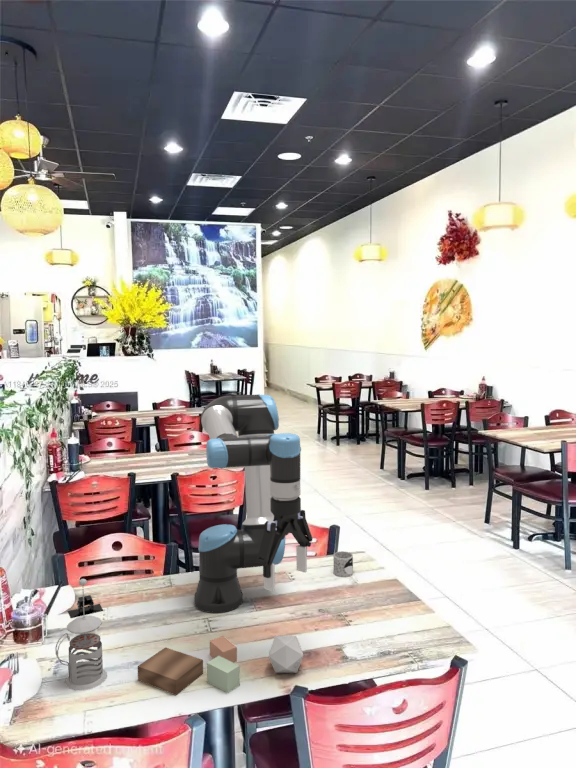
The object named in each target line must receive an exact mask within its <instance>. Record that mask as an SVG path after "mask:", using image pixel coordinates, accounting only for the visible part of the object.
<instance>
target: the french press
mask: <svg viewBox="0 0 576 768" xmlns="http://www.w3.org/2000/svg"><path fill="white" fill-rule="evenodd" d="M78 585H79V586H82V587H84V586H85V585H88V581H87V579H85V578H80V580H78ZM84 594H85V593H84V590H82V597H83V612H84V607H85V606H84V596H85V595H84ZM102 620H103V619H101V618H99V617H97V616H95V615H83V616H79V617H75V618H73V620H71V621H70V622H69V623H68V624H66V630H67V631H68V632H69V633H72V634H75V636H74V637H72V638H71V637H70V636H69V633H68V632H65V633H64V634H62V635H61V636H60V637H59V638H58V640H57V642H56V644H55V649H54V650H55V651H54V652H55V655H56V658H57V660H58V662H59V664H61V665H63V666H67V670H68V676H67V677H66V679H65V686H66V687H67V688H68V689H70V690H73V691H86V690H91V689H92V690H93V689H94V688H96V687H98V686H101V685H102V684H103V683H104V682H105V681H106V679H107V678H108V672H107V671H106V670H105V669H104V666H103V663H104V662H103V660H104V659H103V644H102V643H103V642H102V640H101V635H99V634H98V633H93V632H94V631H96V630H98V629H99V628H100V627H101V626H102V624H103V622H102ZM76 634H77V635H76ZM65 635H66V636H65ZM64 636H65V637H64ZM63 637H64V638H63ZM62 638H63V639H62ZM70 638H71V639H70ZM61 639H62V640H61ZM66 639H67V640H68V641H69V647H68V661H65V660H62V659H60V657H59V650H60V646H61V644H62V643H63V642H64V641H65V640H66ZM60 640H61V641H60ZM59 642H60V643H59ZM92 647H93V648H97V649H92ZM80 650H82V651H80ZM85 651H88V652H85ZM89 652H91V653H89ZM82 660H85V661H82ZM65 663H66V664H65Z"/></svg>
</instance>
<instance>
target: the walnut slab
mask: <svg viewBox="0 0 576 768" xmlns="http://www.w3.org/2000/svg"><path fill="white" fill-rule="evenodd" d="M203 674H204V660H203V658H202V659H201V658H199V657H197V656H194V655H193V656H192V655H190V654H186V653H184V652H181V651H177V650H175V649H172V648H169V647H166V646H165V647H163V648H162V649H161V650H159V651H158V652H157V653H155V654H153V655H152V656H150V657H149V658H148V659H146V660H144V661H143V662H141V663H140V664H139V665H137V681H138V682H140V683H143V684H146V685H148V686H152V687H153V688H157V689H159V690H161V691H165V692H167V693H170V694H173V695H175V696H178V694H180V693H181V692H183V691H184V690H185V689H186V688H187V687H189V686H190V685H191V684H192V683H194V682H195V681H196V680H198V678H200V677H201V676H202V675H203Z"/></svg>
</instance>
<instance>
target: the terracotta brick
mask: <svg viewBox="0 0 576 768" xmlns="http://www.w3.org/2000/svg"><path fill="white" fill-rule="evenodd" d="M209 655H210V657H212V658H213V659H214V658H216V657H217V656H220V657H223V658H225V659H227V660H229V661H231V662H233V663H236V662H238V646H236V645H235V644H234V643H233V642H231V641H230V640H228V638H227V637H225V636H224V635H222V636H219V637H216V638H214V639H210V640H209Z"/></svg>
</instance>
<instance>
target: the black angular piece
mask: <svg viewBox="0 0 576 768" xmlns="http://www.w3.org/2000/svg"><path fill="white" fill-rule="evenodd" d="M76 607H77V608H74V609H70V610H67V613H68V615H69V618H70V619H76V618H78V617H81V616H89V615H91V614H96V613H100V612H103V611H104V609H103V607H102V605H101V603H97V604H95V602H94V600H93V597H92V596H91V594H89V595H84V612H83V596H80V597H77V603H76Z"/></svg>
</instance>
